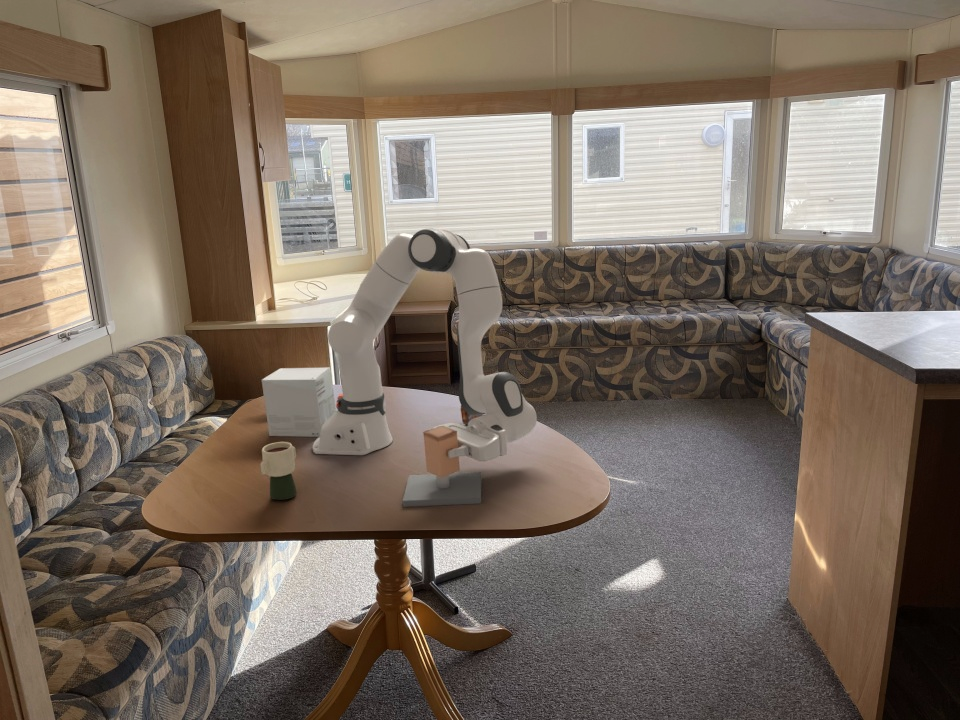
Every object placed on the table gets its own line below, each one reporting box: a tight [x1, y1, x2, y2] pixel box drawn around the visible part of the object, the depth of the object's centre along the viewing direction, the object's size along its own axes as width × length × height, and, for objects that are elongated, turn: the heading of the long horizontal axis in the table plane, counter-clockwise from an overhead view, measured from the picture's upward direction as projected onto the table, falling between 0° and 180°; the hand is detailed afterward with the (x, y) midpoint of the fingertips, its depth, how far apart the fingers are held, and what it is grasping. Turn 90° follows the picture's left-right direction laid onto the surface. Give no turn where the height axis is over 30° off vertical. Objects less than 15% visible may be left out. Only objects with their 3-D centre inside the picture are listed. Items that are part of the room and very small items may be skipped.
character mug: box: [260, 441, 298, 501], centre depth 169 cm, size 11×7×13 cm, turn 150°
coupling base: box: [402, 471, 482, 508], centre depth 168 cm, size 18×14×9 cm
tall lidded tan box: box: [422, 425, 461, 478], centre depth 166 cm, size 6×6×10 cm
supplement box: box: [261, 366, 337, 438], centre depth 214 cm, size 17×13×18 cm
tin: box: [460, 404, 482, 426], centre depth 215 cm, size 15×3×8 cm, turn 162°
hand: (438, 450), depth 165 cm, fingers closed on tall lidded tan box, 6 cm apart
